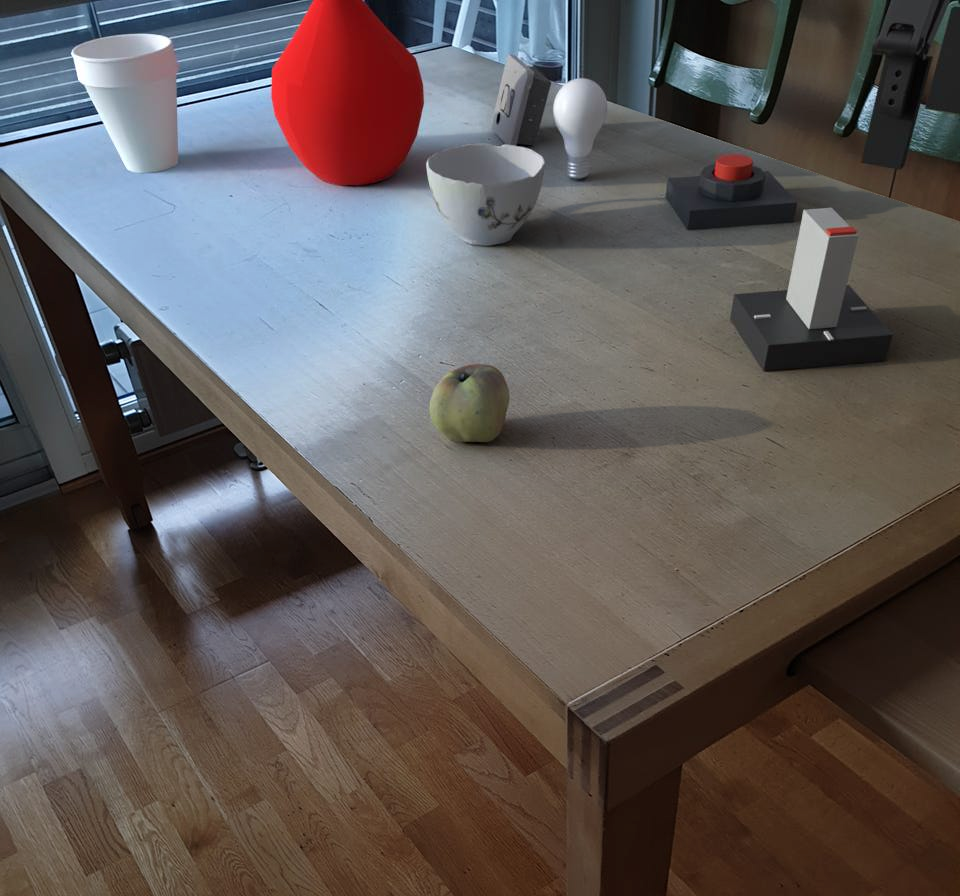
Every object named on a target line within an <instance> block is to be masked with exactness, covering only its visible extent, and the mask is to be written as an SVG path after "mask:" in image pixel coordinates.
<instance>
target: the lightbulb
mask: <svg viewBox="0 0 960 896" xmlns="http://www.w3.org/2000/svg"><path fill="white" fill-rule="evenodd" d="M607 115H608V100H607V97H606V94H605V92H604V90H603V88H602V87H601V86H600V84H598V83H597V82H596V81H594V80H592V79H590V78H586V77H585V78H584V77H578V78H574V79H571V80H568V81H567V82H566V83H564V84H563V86H561V87H560V88H559V90H558V91H557V93H556V94H555V97H554V100H553V105H552V116H553V120H554V123H555V125H556V128H557V130H558V131H559V133H560V135H561V137H562V139H563V144H564V149H565V152H566V157H567V158H566V160H567V161H566V163H567V165H566V167H567V169H566V171H567V172H566V176H568V177H569V178H570V179H572V180H574V181H581V180H583V179H584V178H586V177H587V176H589V174H590V170H589V169H590V167H589V166H590V154H591V152H592V150H593V147H594V142H595V139H596V137H597V135H598V133H599V132H600V131H601V129H602V128H603V126H604V123H605V121H606V118H607Z"/></svg>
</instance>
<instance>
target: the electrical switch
mask: <svg viewBox="0 0 960 896" xmlns="http://www.w3.org/2000/svg"><path fill="white" fill-rule="evenodd" d="M551 85H552V81H551V80H550V79H548V78H547V77H546V76H545V75H544V73H542V72H541V71H539V70H538V69H537V68H536V67H535V66H531V65H527V64H525V62H523V61H522V60H521V59H520V58H519V57H518V56H516V54H508V55H507V57H506V60H505V63H504V68H503V71H502V77H501V80H500V85H499V89H498V94H497V98H496V101H495V106H494V107H495V108H494V111H493V116H492V120H491V130H492V131H493V132H494V133H495V135H496V136H497V137H498V138H499V139H500V140H501V142H503V144H504V145H505V144H507V145H513V146H518V145H517V144H520V145H527V146H533V147H535V146H536V143H537V139H538V137H539V136H538V135H539V132H540V128H541V124H542V119H543V116H544V112H545V109H546V106H547V105H546V104H547V101H548V98H549V93H550V89H551Z"/></svg>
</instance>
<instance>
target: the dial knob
mask: <svg viewBox="0 0 960 896" xmlns="http://www.w3.org/2000/svg"><path fill="white" fill-rule="evenodd" d="M858 241H859V234H858V231H857V229H856V228H854V227H853V226H851V225H850V224H849V223H848V222H847V221H846V220H844V219H843V218H842V217H841V215H839V213H838V212H837V211H835V209H833V207H824V208H823V207H821V208H809V209H803V211H802V217H801V222H800V226H799V231H798V237H797V242H796V247H795V250H794V251H795V252H794V257H793V262H792V265H791V267H792V268H791V271H790V272H791V273H790V278H789V282H788V287H787V290H788V292H787V297H786V300H787V301H788V302H789V304H790V305H791V306H792V308H793V309H794V310H795V312H796V313H797V314H798V316H799V317H800V318H801V320H802V321H803V322H804V324H805V325H806V326H807V328H808V329H820V328H832V327H837V323H838V319H839V314H840V310H841V306H842V302H843V298H844V294H845V290H846V285H848V281H849V277H850V273H851V269H852V265H853V260H854V256H855V252H856V247H857V243H858Z"/></svg>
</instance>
